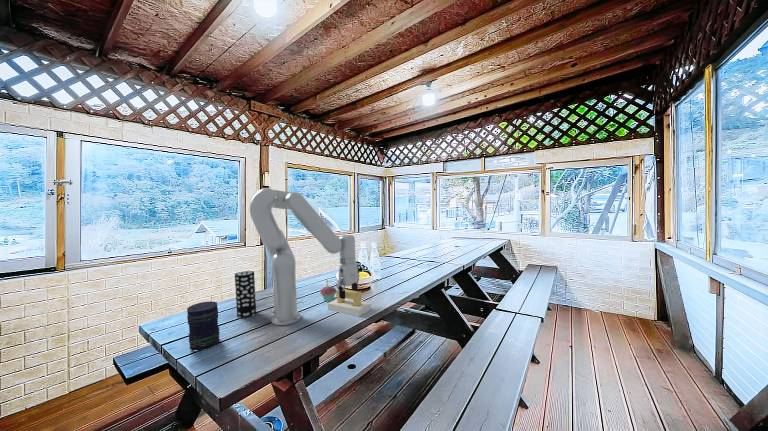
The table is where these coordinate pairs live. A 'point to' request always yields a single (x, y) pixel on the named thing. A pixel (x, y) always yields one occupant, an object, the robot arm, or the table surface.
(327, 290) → the cupcake
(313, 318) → the table surface
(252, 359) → the table surface
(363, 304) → the white slab with recess
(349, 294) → the yellow arch block
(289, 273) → the robot arm
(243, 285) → the white-spotted black cylinder
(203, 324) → the storage jar
